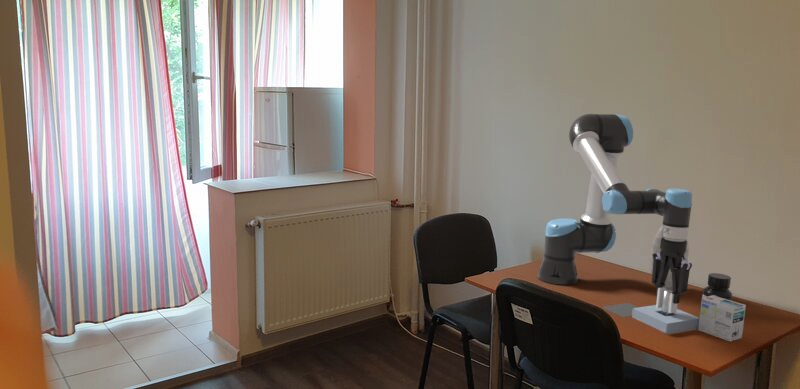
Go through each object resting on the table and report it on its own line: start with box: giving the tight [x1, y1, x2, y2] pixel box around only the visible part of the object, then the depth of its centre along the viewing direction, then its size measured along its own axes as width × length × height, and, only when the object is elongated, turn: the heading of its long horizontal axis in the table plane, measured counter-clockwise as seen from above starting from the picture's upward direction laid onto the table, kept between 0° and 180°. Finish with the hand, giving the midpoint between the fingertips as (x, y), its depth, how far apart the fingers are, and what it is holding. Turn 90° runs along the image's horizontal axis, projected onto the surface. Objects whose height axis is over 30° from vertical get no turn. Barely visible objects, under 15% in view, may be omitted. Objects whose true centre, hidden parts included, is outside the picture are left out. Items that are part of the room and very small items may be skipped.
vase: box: [650, 224, 689, 291], centre depth 232 cm, size 13×13×28 cm
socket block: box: [631, 304, 699, 335], centre depth 198 cm, size 14×14×4 cm
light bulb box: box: [697, 295, 747, 342], centre depth 190 cm, size 11×7×11 cm, turn 33°
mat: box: [601, 302, 638, 318], centre depth 209 cm, size 10×12×1 cm
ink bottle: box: [701, 272, 733, 301], centre depth 213 cm, size 10×9×12 cm
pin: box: [661, 290, 673, 316], centre depth 197 cm, size 3×3×11 cm
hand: (666, 309), depth 198 cm, fingers open, 4 cm apart
